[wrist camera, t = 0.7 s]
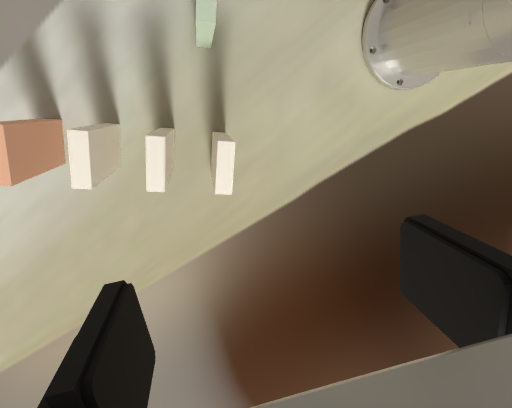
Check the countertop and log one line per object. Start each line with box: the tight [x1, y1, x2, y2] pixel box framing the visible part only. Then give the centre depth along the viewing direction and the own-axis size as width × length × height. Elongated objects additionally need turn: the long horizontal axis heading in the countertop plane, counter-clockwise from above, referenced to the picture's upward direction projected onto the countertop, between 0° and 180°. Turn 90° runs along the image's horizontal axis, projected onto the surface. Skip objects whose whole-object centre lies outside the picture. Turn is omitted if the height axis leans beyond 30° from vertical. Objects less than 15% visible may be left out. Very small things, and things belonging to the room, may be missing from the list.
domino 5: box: [211, 132, 235, 195], centre depth 34 cm, size 2×5×11 cm, turn 174°
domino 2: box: [67, 123, 121, 189], centre depth 31 cm, size 2×5×11 cm, turn 175°
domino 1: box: [0, 118, 65, 186], centre depth 30 cm, size 2×5×11 cm, turn 174°
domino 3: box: [146, 128, 174, 192], centre depth 32 cm, size 2×5×11 cm, turn 174°
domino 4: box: [196, 0, 217, 49], centre depth 29 cm, size 2×5×11 cm, turn 175°
